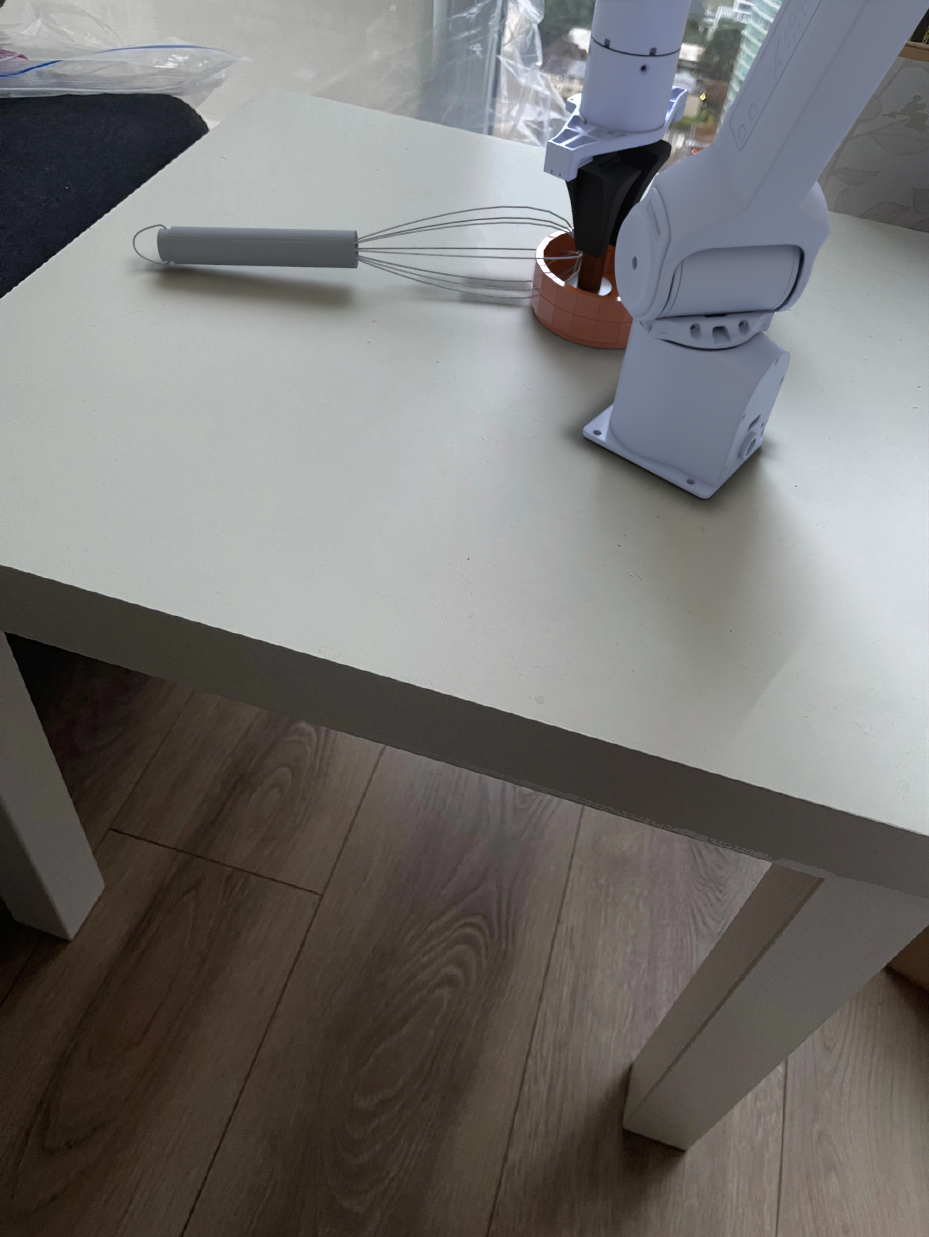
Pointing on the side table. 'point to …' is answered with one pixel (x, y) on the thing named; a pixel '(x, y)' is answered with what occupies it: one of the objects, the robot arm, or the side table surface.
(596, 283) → the coffee tamper
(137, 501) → the side table surface
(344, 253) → the kitchen whisk
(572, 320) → the bowl
